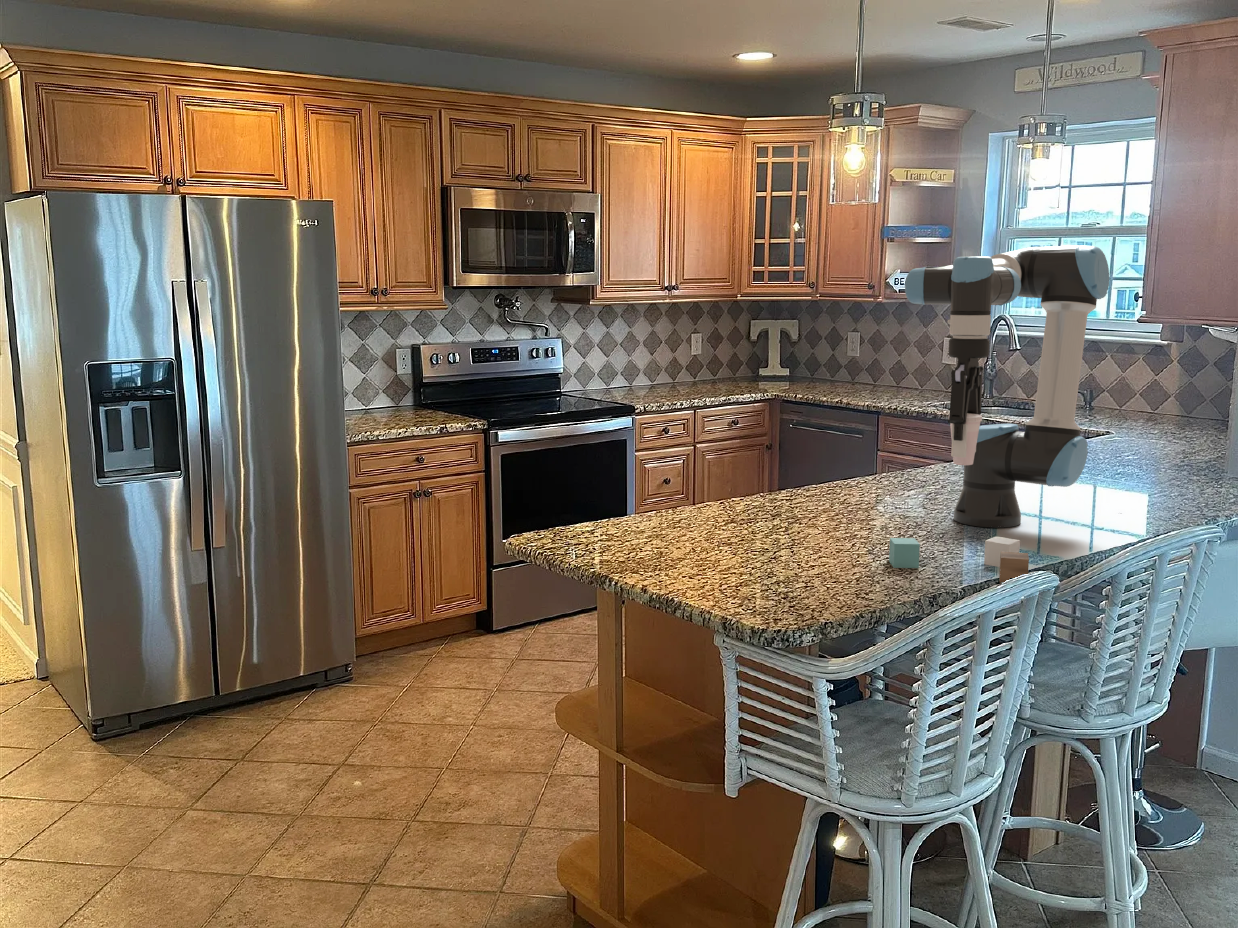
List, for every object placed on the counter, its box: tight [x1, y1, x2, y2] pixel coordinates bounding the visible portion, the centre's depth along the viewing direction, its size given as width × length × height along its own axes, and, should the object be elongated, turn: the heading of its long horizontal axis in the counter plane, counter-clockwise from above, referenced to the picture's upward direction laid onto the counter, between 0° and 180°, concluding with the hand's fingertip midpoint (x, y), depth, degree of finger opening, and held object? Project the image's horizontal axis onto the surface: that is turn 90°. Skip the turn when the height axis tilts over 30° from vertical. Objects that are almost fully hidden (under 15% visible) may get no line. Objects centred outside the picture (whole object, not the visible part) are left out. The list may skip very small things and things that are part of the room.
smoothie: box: [947, 413, 983, 466], centre depth 212 cm, size 6×6×14 cm
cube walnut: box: [998, 551, 1030, 584], centre depth 205 cm, size 5×5×5 cm
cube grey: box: [983, 536, 1021, 568], centre depth 217 cm, size 5×5×5 cm
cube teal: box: [888, 537, 921, 569], centre depth 217 cm, size 5×5×5 cm
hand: (963, 453), depth 213 cm, fingers closed on smoothie, 6 cm apart
